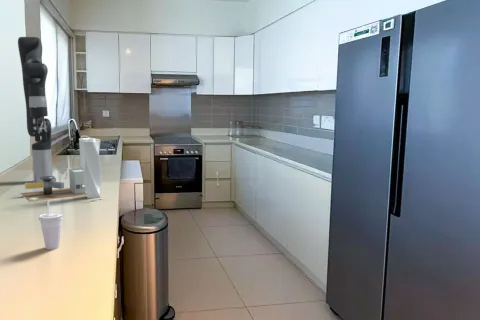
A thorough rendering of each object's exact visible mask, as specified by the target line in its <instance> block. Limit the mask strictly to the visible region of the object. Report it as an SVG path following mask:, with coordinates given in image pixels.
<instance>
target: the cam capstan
mask: <svg viewBox="0 0 480 320" xmlns="http://www.w3.org/2000/svg"><path fill="white" fill-rule="evenodd" d="M40 179H41V180H43V181H42V182H34V181H33V182H24V190H31V189H43V190H42V191H43V192H44V194H52V190H53V189H63V188H65V182H64V181H63V182H62V181H57V177H55V176H54V175H53V176H43V177H40Z"/></svg>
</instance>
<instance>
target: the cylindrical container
mask: <svg viewBox="0 0 480 320" xmlns="http://www.w3.org/2000/svg"><path fill="white" fill-rule="evenodd" d="M90 138H91V139H92V138H93V137H90ZM90 138H88V137H82V139H83V141H88V139H90ZM82 139H81V138H78V142H79V143H78V144H79V146H78V147H79V165H80V168H79V169H81V170H83V171H84V162H85V153H84V148H83V142H82ZM85 191H86V186H85Z"/></svg>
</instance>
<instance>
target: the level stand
mask: <svg viewBox="0 0 480 320" xmlns="http://www.w3.org/2000/svg"><path fill="white" fill-rule="evenodd" d="M68 174H69V175H68V176H69V188H70V191H72V192H73V193H75V194H80V193H86V190H85V178H84V171H83V170H81V169H80V168H70V169H68Z"/></svg>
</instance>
